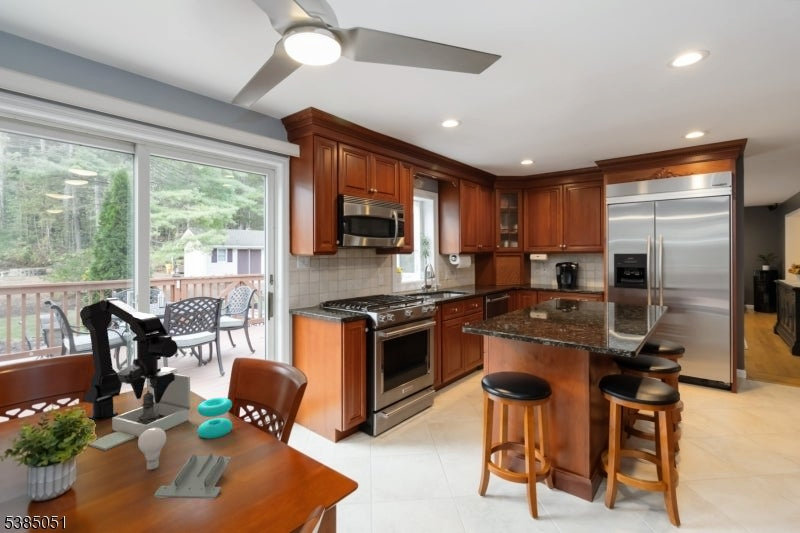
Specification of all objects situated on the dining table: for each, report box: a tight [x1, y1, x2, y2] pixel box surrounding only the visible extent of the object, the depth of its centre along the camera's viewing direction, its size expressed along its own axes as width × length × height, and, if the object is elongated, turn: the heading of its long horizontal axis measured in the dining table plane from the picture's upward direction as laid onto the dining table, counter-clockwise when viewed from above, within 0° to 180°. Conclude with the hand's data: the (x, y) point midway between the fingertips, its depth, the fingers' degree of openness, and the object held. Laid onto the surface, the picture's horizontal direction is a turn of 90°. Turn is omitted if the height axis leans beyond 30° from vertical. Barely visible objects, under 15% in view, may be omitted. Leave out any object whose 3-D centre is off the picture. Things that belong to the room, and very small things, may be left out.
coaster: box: [88, 431, 136, 451], centre depth 117 cm, size 8×8×1 cm
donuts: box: [197, 397, 233, 439], centre depth 123 cm, size 10×10×10 cm
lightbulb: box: [137, 427, 167, 471], centre depth 102 cm, size 6×6×11 cm
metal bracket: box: [153, 451, 232, 500], centre depth 96 cm, size 14×6×15 cm
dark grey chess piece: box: [138, 390, 160, 425], centre depth 128 cm, size 6×6×12 cm
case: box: [111, 371, 191, 438], centre depth 129 cm, size 16×16×15 cm
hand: (148, 400), depth 128 cm, fingers open, 9 cm apart
